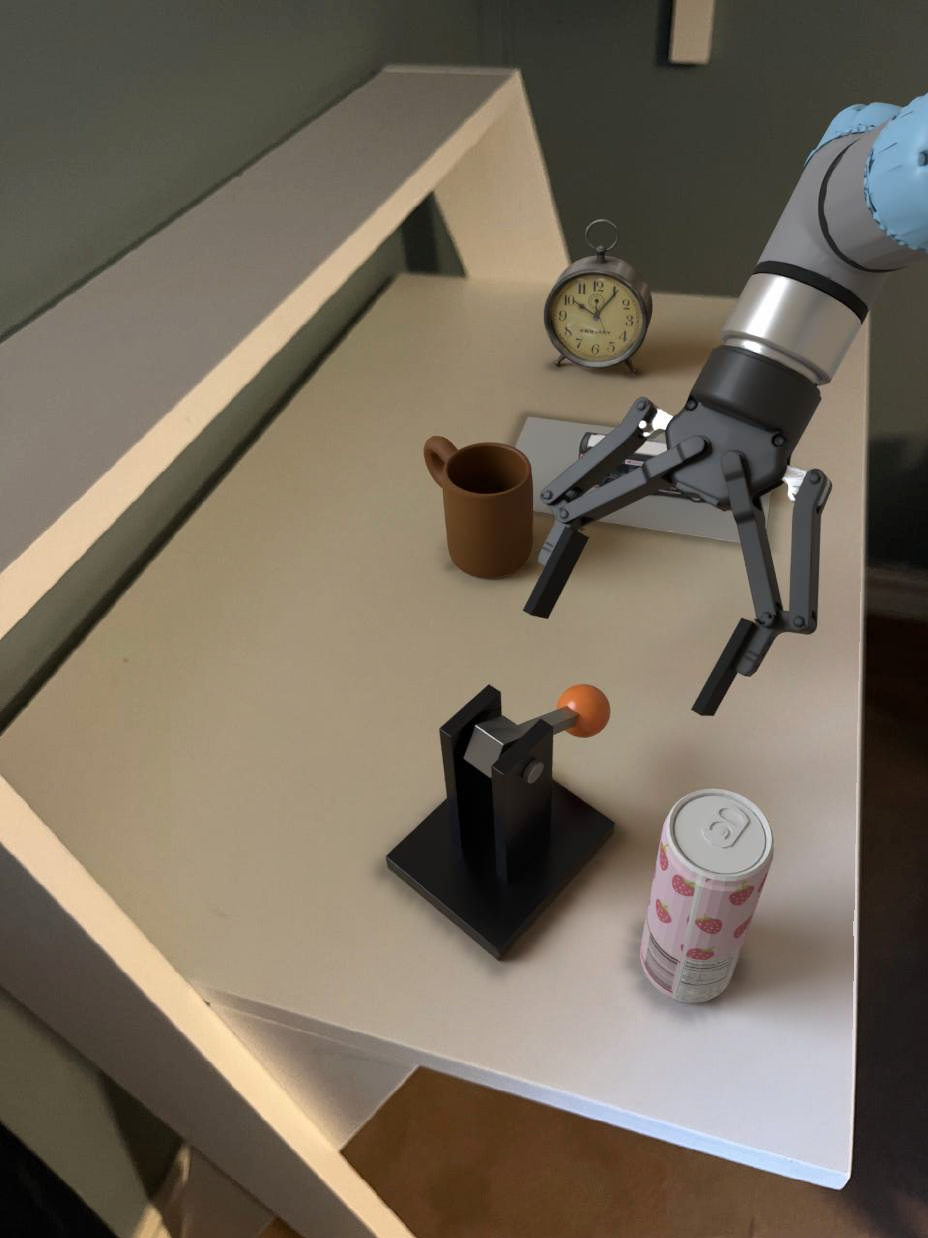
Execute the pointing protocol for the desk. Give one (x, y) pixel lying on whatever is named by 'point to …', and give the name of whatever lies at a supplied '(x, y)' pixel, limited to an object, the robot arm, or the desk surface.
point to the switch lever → (576, 714)
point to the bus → (663, 510)
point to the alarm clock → (598, 310)
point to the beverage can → (704, 893)
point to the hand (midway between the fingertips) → (614, 662)
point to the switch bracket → (499, 834)
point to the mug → (484, 504)
